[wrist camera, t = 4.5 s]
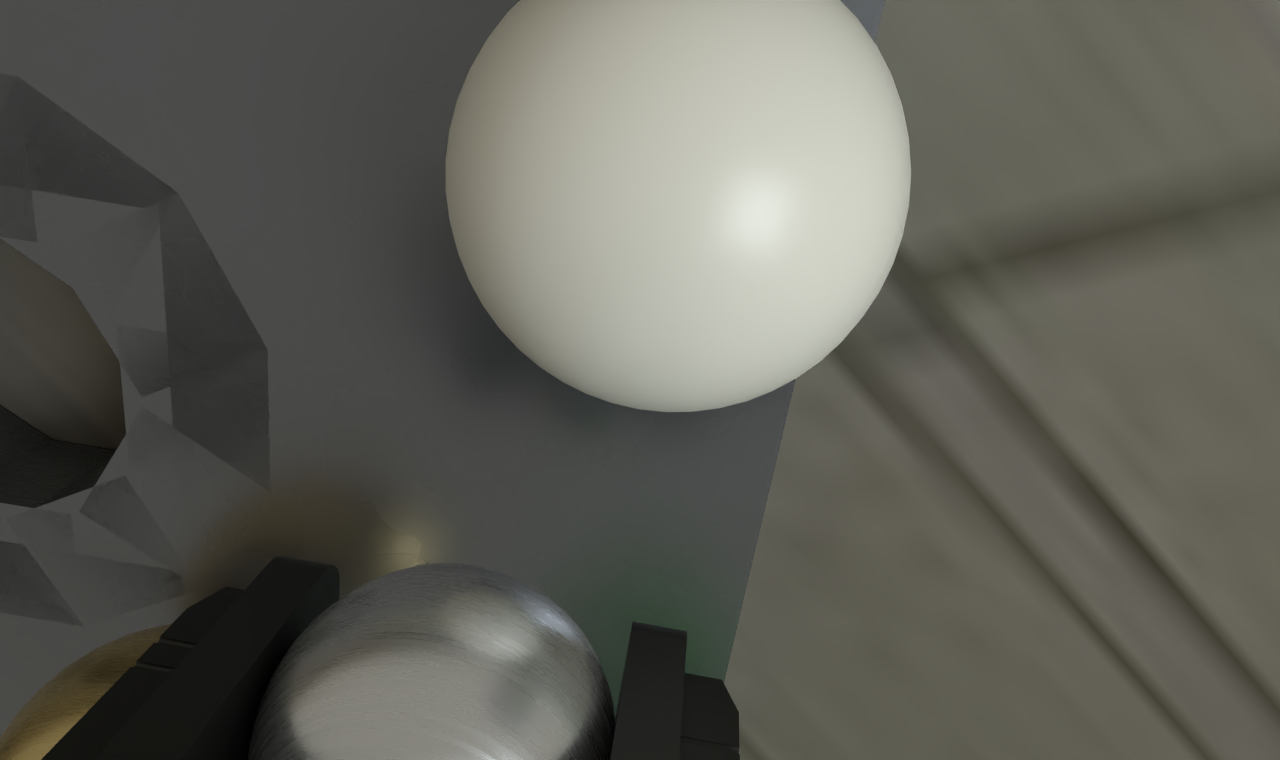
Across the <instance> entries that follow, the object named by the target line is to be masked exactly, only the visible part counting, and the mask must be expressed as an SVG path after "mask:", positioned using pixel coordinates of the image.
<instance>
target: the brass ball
mask: <svg viewBox="0 0 1280 760" xmlns="http://www.w3.org/2000/svg"><path fill="white" fill-rule="evenodd" d="M170 625H171V624H168V625H160V626H156V627H152V628H148V629H144V630H141V631H137V632H134V633H131V634H128V635H125V636H123V637H120V638H118V639H115V640H113V641H111V642H109V643H106V644H104V645H102V646H100V647H98V648H96V649H94V650H92V651H91V652H89V653H87V654H86V655H84V656H82V657H81V658H79V659H78V660H76V661H75V662H73V663H72V664H70V665H68V666H67V667H65V668H64V669H63V670H62V671H60V672H59V673H58V674H57V675H56V676H55V677H53V678H52V679H51V680H50V681H49V682H48V683H46V684H45V685H44V686H43V687H42V688H41V689H39V690H38V691H37V692H36V693H35V694H34V695H33V696H32V697H31V698H30V700H29V701H28V702H27V703H26V704H25V705H24V706H23V707H22V709H21V710H20V711H19V712H18V713H17V715H16V716H15V717H14V718H13V720H12V721H11V722H10V723H9V725H8V726H7V728H6V729H5V731H4V732H3V734H2V735H1V737H0V760H41V759H42V758H43V757H44V756H45V755H46V754H47V753H48V752H49V751H50V750H51V749H52V748H53V747H54V746H55V745H56V744H57V743H58V742H59V740H60V739H61V738H62V737H63V736H64V735H65V734H66V733H67V732H68V731H69V730H70V729H71V728H72V727H73V726H74V725H75V724H76V723H77V722H78V721H79V720H80V719H81V718H82V717H83V716H84V715H85V714H86V713H87V711H88V710H89V709H90V708H91V707H92V706H93V705H94V704H95V703H96V702H97V701H98V700H99V699H100V698H101V697H102V696H103V695H104V694H105V693H106V692H107V691H108V690H109V689H110V688H111V687H112V686H113V685H114V683H115V682H116V681H117V680H118V679H119V678H120V677H121V676H122V675H123V674H124V673H125V672H126V671H127V670H128V669H129V668H130V667H135V665H136V662H137V660H138V659H139V658H140V657H141V655H142V654H143V653H144V652H145V651H146V650H147V649H148V648H149V647H150V646H151V645H152V644H153V643H154V642H155V643H158V641H159V638H160V636H161V635H162V634H163V633H164V632H165V631H166V630H167V629H168V628H169V626H170Z"/></svg>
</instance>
